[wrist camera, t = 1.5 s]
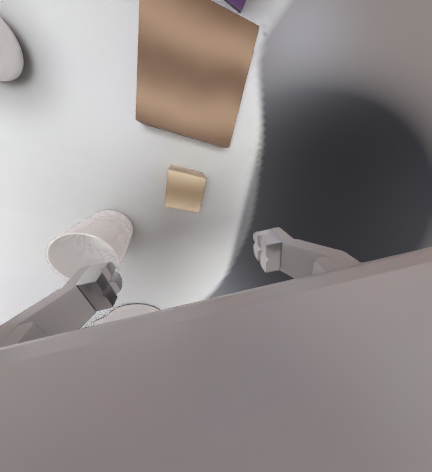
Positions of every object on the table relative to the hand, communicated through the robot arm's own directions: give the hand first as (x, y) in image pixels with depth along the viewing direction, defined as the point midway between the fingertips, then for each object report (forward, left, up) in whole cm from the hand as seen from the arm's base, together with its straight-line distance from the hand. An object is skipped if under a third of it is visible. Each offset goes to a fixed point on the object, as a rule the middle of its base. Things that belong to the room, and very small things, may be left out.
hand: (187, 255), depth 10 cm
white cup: (-10, +11, -22) cm, 26 cm away
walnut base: (+13, +1, -21) cm, 25 cm away
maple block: (0, 0, -21) cm, 21 cm away
